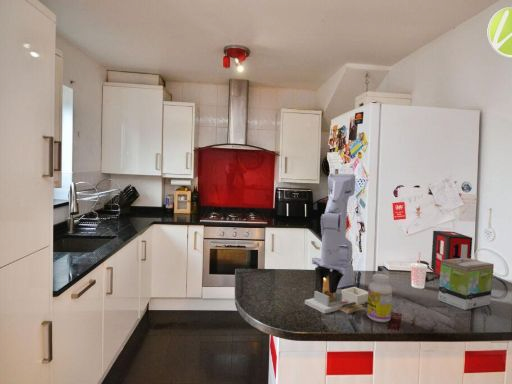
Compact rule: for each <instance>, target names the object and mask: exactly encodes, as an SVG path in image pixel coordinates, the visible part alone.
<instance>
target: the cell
mask: <svg viewBox="0 0 512 384" xmlns="http://www.w3.org/2000/svg"><path fill="white" fill-rule="evenodd" d="M322 294H325V295H327V296H329V297H333V293H330V282H329V276H324V277H323V290H322Z"/></svg>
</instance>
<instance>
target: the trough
mask: <svg viewBox="0 0 512 384" xmlns="http://www.w3.org/2000/svg"><path fill="white" fill-rule="evenodd" d="M363 305H364V304H361V305H359V304H356V302H352V303H348V304H344V305H341V306H340V310H339V311H341V312H343V313H345V314H347V315H348V314H351V313H355V312H358V311H362V310H363V308H364V307H363Z"/></svg>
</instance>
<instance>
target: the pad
mask: <svg viewBox="0 0 512 384" xmlns="http://www.w3.org/2000/svg"><path fill="white" fill-rule="evenodd" d="M335 300H337V297H336V296H333V297H330V300H329V302H331V301H335Z"/></svg>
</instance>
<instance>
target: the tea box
mask: <svg viewBox="0 0 512 384" xmlns="http://www.w3.org/2000/svg"><path fill="white" fill-rule="evenodd" d="M494 268H495V267H494V263H490V262H487V261H486V262H485V261H481V260H478V259H473V258H471V259H469V258H458V259H448V260H442V261H441V272H440V278H439V282H438V283H439V284H438V285H439V286H438V295H437V299H438V301H440V302H443V303H444V304H448V305H450V306H454V307H455V308H457V309H458V308H459V309H461V310H464V311H466V310H471V309H473V308H478V307H484V306H488V305H490V304H491V300H492V290H493V280H494V279H493V278H494Z"/></svg>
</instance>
